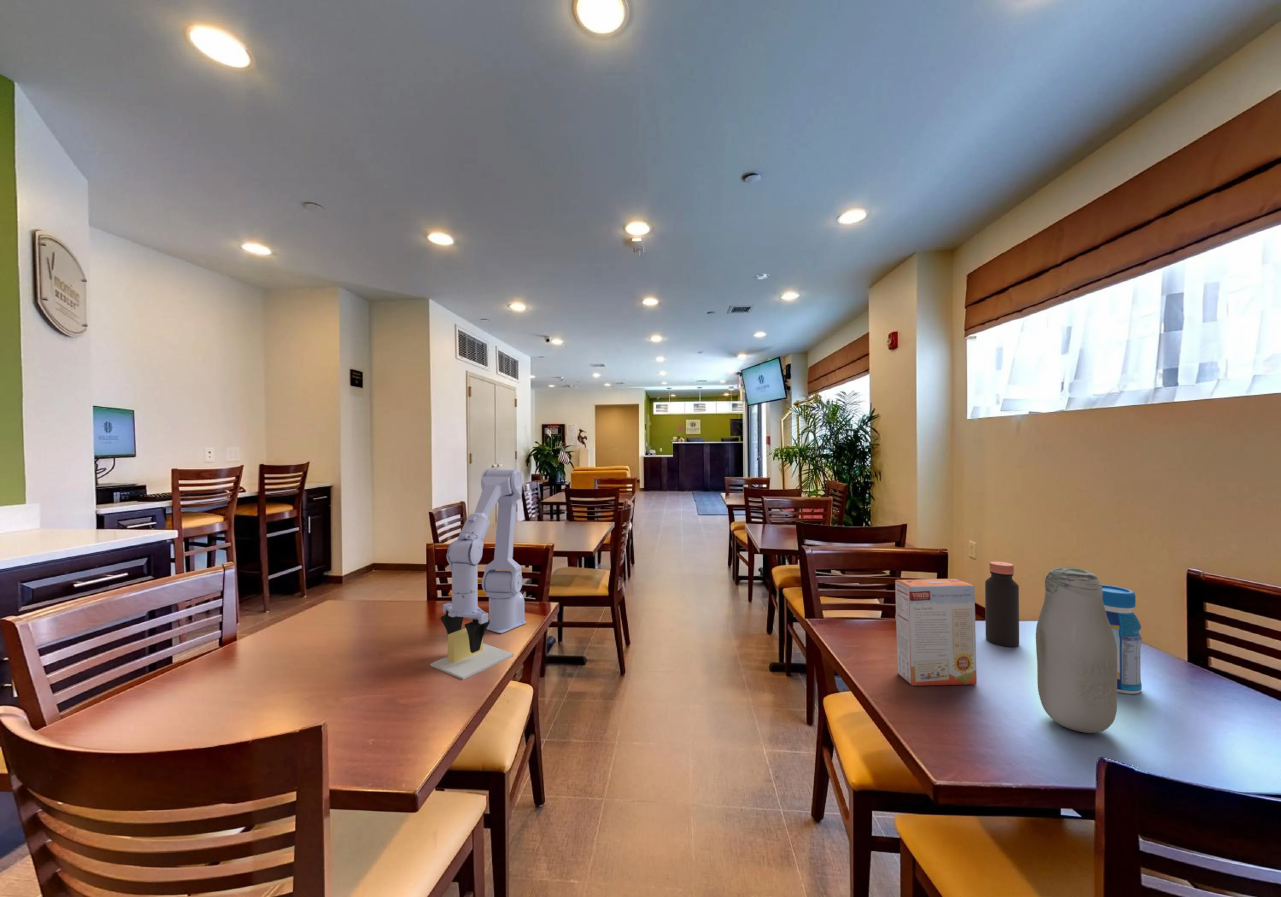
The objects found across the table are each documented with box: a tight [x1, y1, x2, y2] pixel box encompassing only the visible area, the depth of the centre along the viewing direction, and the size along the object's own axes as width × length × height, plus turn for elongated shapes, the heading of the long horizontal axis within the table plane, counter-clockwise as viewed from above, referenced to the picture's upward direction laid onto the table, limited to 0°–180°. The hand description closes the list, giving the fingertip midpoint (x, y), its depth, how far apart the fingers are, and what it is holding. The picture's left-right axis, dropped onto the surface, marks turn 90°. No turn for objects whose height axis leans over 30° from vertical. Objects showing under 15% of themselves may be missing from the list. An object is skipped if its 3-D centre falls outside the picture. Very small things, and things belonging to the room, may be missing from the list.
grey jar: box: [1035, 566, 1118, 734], centre depth 82 cm, size 10×10×28 cm
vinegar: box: [984, 561, 1020, 648], centre depth 119 cm, size 7×7×20 cm
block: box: [447, 627, 484, 663], centre depth 111 cm, size 8×2×6 cm, turn 147°
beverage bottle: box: [1101, 584, 1143, 695], centre depth 97 cm, size 8×8×20 cm
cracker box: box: [894, 578, 978, 687], centre depth 99 cm, size 14×6×21 cm, turn 91°
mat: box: [430, 642, 515, 681], centre depth 109 cm, size 14×12×1 cm
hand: (465, 647), depth 111 cm, fingers open, 7 cm apart
